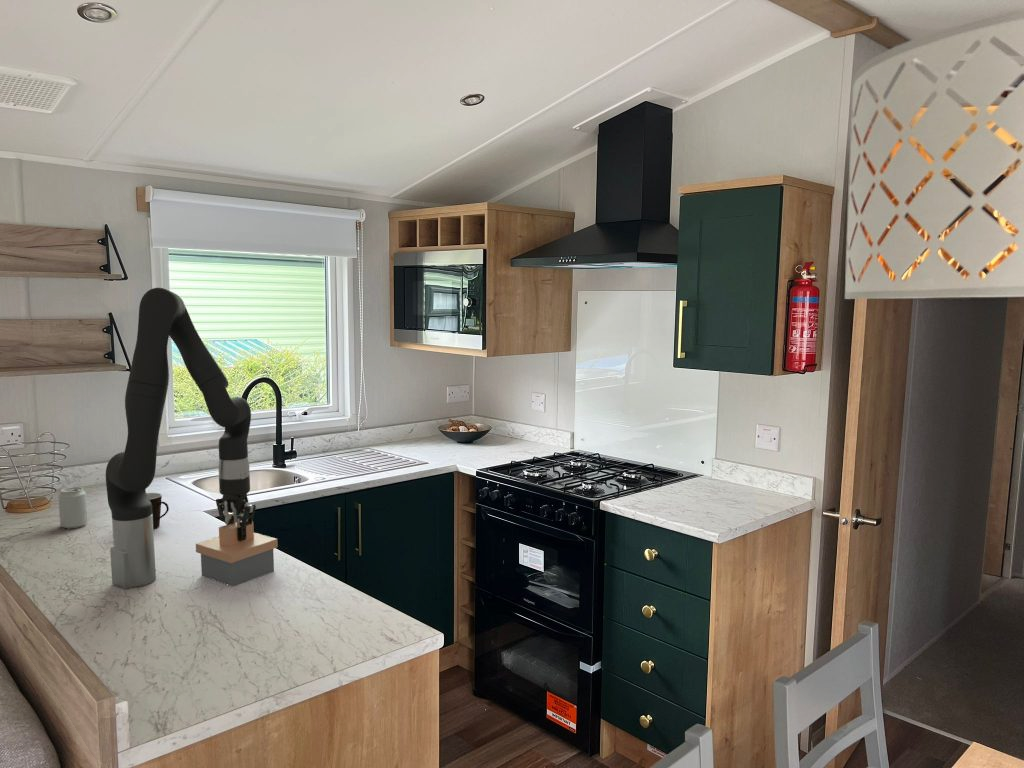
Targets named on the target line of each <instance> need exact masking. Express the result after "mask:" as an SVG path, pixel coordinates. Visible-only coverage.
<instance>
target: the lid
mask: <svg viewBox="0 0 1024 768" xmlns="http://www.w3.org/2000/svg"><path fill="white" fill-rule="evenodd" d="M241 522H242V520H241ZM278 547H279V545H278V538H275V537H271V536H269V535H265V534H264V535H263V534H262V533H258V532H255V531H254V521H252V524H251V525H247V526H246V539H245V540H243V541H238V540H237V523H236V521H235V522H234V523H232V524H228V525H226V524H225V525H222V526H219V527H218V536H216V537H213V538H210V539H206V540H203V541H200V542H197V543H195V552H196V553H197V554H200V555H201V554H203V555H207V556H210V557H213V558H216V559H219V560H222V561H226V562H229V563H233V562H236V561H239V560H242V559H245V558H248V557H251V556H254V555H257V554H260V553H263V552H265V551H268V550H271V549H273V550H274V549H277V548H278Z"/></svg>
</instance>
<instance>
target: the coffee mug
mask: <svg viewBox="0 0 1024 768" xmlns="http://www.w3.org/2000/svg"><path fill="white" fill-rule="evenodd" d="M146 494H147V497H148V499H149V500H150V502H151V504H152V514H153V530H157V529H159V528H160V524H161V523H160V522H161V519H162V518H163V517H164V516H166V515H167V514H168V512H169V510H170V508H169V504H168V503H167V502H166V501H162V499H163V498H162V496H163V494H162V493H160V492H146ZM162 505H165V508H166V510H165V512H164V513H163V514H162V515H161V512H162V511H161V510H162Z"/></svg>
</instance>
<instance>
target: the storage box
mask: <svg viewBox="0 0 1024 768" xmlns="http://www.w3.org/2000/svg"><path fill="white" fill-rule="evenodd" d="M274 555H275V554H274V549H271V550H268V551H265V552H263V553H260V554H257V555H254V556H251V557H248V558H245V559H242V560H239V561H236V562H233V563H229V562H226V561H222V560H219V559H216V558H213V557H210V556H207V555H203V554H200V562H201V563H200V564H201V565H200V567H201V577H203V576H204V577H203V578H206V577H207V578H206V579H209V578H210V580H212V579H214V580H213V581H215V580H216V582H218V581H219V583H221V582H222V583H221V584H224V583H225V584H224V585H227V584H228V586H230V587H235V586H238V585H241V584H244V583H246V582H249V581H252V580H254V579H257V578H259V577H262V576H265V575H268V574H270V573H274V572H275V563H274V561H275V559H274V558H275V557H274Z"/></svg>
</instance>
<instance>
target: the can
mask: <svg viewBox="0 0 1024 768" xmlns="http://www.w3.org/2000/svg"><path fill="white" fill-rule="evenodd" d="M57 498H58V512H59V525H60V527H62V528H63V529H65V528H67V529H66V530H72V529H71V528H74V529H79V528H81V526H82V527H84V526H85V525H86V524H87V523H88V522H89V521H88V505H87V504H88V503H87V493H86V491H85V490H84V488H83V487H81V486H73V487H65V488H61V490H60V493H59V494H58V496H57ZM78 527H79V528H78Z"/></svg>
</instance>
